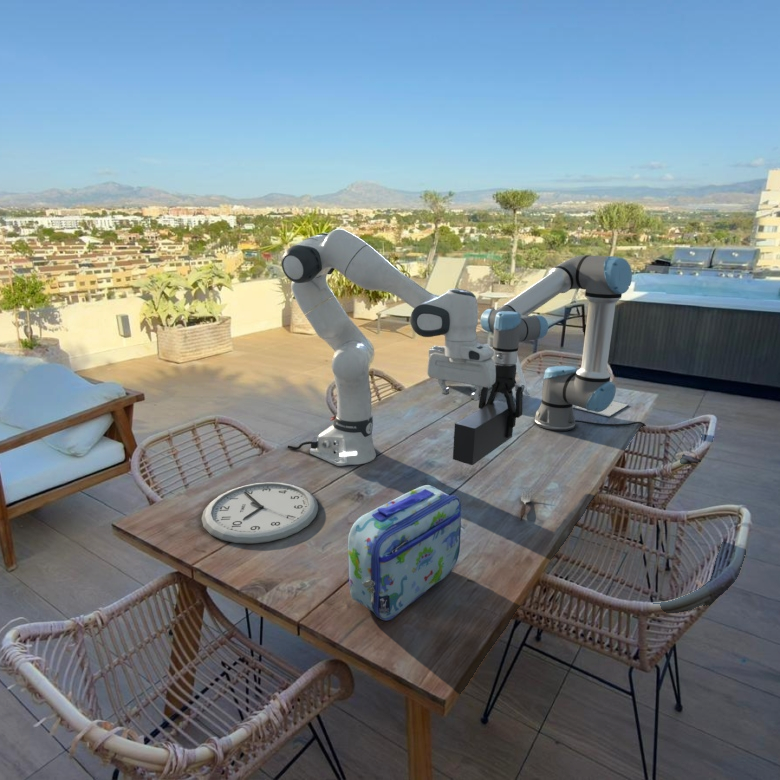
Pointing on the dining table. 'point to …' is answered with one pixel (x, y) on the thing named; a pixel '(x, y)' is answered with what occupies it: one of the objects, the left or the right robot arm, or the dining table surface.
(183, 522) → the dining table surface
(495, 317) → the right robot arm
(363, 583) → the lunch box
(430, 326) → the left robot arm
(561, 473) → the dining table surface
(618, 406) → the invitation card
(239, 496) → the wall clock
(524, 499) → the fork
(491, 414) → the box
